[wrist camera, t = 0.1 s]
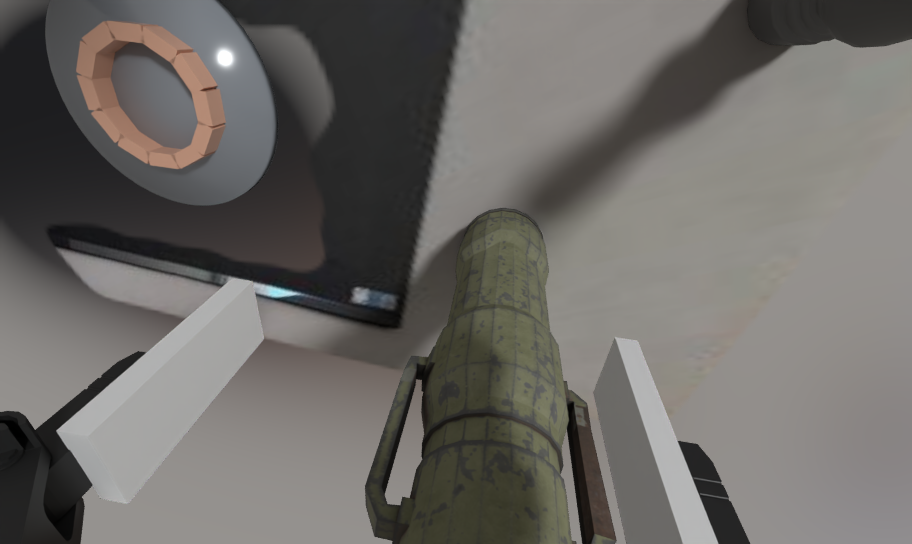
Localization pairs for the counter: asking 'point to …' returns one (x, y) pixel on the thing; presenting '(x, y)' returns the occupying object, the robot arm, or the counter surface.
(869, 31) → the candle holder
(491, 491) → the thermos
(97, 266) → the counter surface
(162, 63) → the ring tray
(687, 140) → the counter surface
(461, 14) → the counter surface
